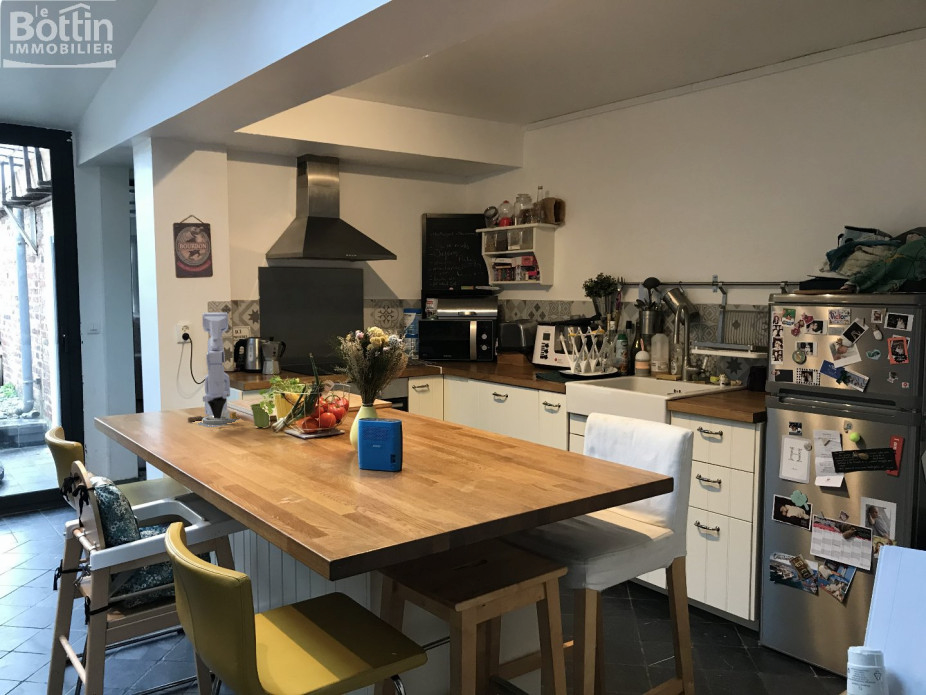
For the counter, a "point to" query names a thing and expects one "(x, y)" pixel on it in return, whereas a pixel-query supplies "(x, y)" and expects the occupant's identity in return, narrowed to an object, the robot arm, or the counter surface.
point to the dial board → (216, 422)
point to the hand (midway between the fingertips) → (217, 417)
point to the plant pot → (259, 416)
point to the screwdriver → (196, 418)
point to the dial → (224, 415)
